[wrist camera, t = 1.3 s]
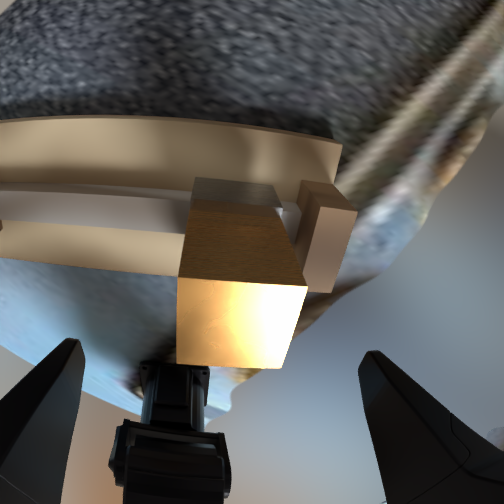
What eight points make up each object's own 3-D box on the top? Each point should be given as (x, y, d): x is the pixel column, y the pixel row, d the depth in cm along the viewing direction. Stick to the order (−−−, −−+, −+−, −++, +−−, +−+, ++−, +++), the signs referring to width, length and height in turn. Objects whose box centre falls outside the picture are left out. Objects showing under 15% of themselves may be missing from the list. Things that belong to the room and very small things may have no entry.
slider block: (257, 266, 19) (278, 375, 12) (188, 260, 19) (176, 371, 12) (272, 185, 17) (312, 273, 10) (195, 176, 16) (178, 263, 9)
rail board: (300, 273, 24) (318, 325, 19) (0, 246, 20) (-35, 286, 15) (334, 139, 19) (371, 164, 14) (-16, 121, 15) (-66, 143, 10)
